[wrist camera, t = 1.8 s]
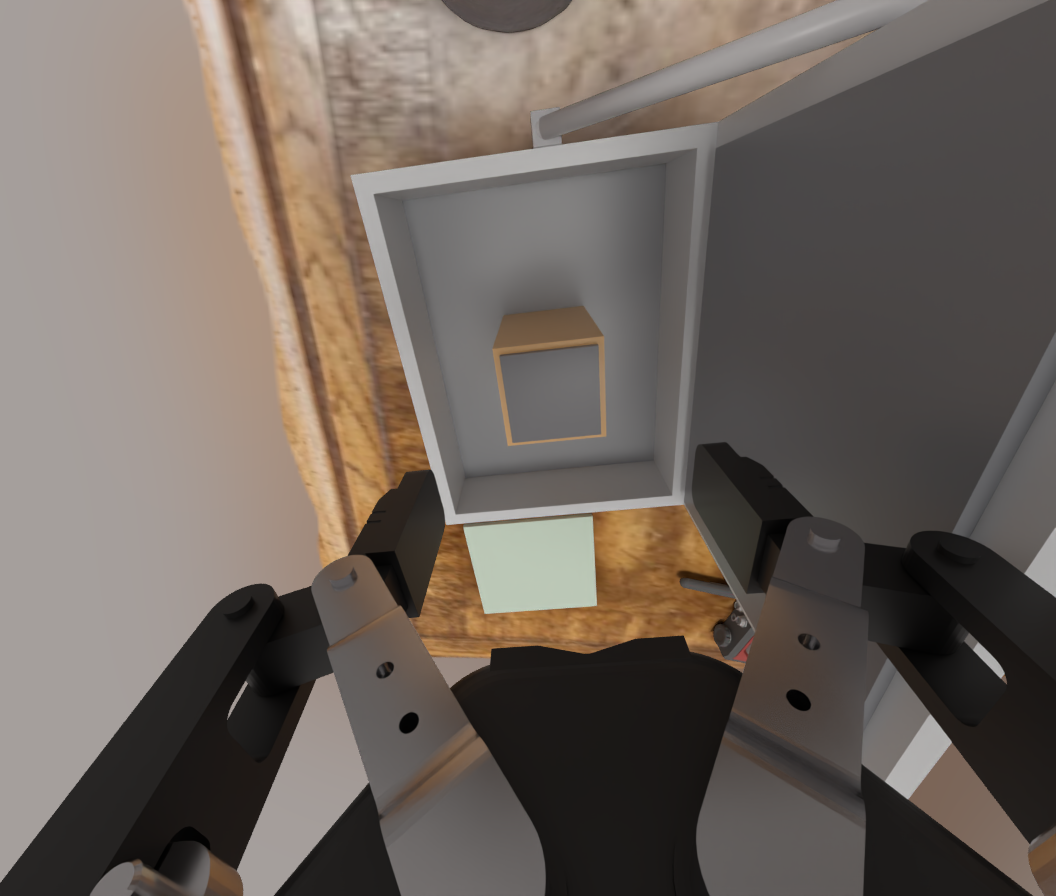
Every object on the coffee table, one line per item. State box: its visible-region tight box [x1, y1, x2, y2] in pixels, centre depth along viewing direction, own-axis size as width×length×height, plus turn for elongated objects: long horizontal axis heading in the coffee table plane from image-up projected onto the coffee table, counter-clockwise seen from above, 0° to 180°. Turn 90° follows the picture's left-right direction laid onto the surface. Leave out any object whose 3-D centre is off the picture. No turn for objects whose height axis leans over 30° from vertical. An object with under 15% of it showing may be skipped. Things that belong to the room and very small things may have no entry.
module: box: [492, 306, 606, 446], centre depth 22 cm, size 5×5×8 cm
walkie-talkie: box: [680, 578, 755, 663], centre depth 38 cm, size 9×4×20 cm
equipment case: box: [351, 0, 1056, 799], centre depth 17 cm, size 18×21×22 cm
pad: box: [463, 513, 597, 614], centre depth 36 cm, size 11×11×1 cm
